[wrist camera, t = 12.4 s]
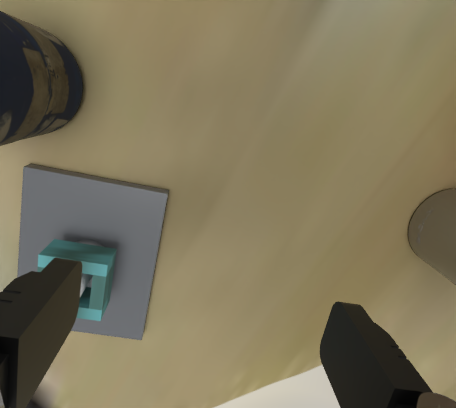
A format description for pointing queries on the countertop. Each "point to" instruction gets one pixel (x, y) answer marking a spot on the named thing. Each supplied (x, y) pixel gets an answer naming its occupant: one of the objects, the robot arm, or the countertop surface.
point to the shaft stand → (96, 236)
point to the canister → (35, 81)
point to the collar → (91, 264)
